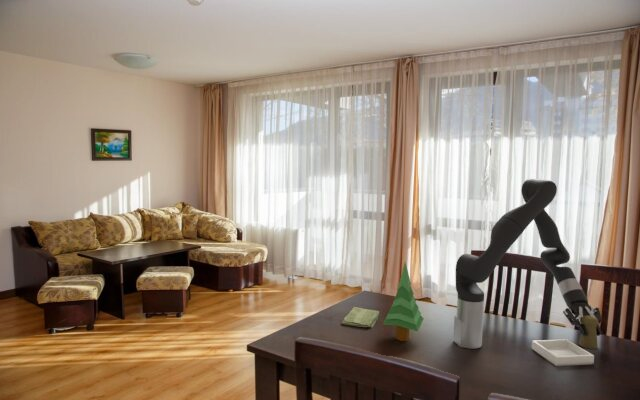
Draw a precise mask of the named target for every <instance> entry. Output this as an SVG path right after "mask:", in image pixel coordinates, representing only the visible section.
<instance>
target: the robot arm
mask: <svg viewBox="0 0 640 400" xmlns="http://www.w3.org/2000/svg"><path fill="white" fill-rule="evenodd" d="M520 190H521V195H522V199H523V200H524V202H525V203H523V204H522V205H519V206H518V207H515V208H514V209H511V210H509V211H507V212H506V213H505V214H503V215H501V217H500V218H499V219H498V220H497V222H496V223H495V224H494V225H493V227H492V229H491V231H490V242H489V244H488V247H487V248H486V250H485V251H484V252H483V253H482V254H481V255H480V256H478V255H474V254H470V253H464V254H461V255H460V256H459V257H458V258H457V261H456V263H455V290H456V292H457V301H456V302H457V304H456V315H455V316H454V321H453V340H452V341H453V342H454V343H455V344H457V346H458V347H460V348H466V349H469V350H470V349H473V350H474V349H475V350H476V349H479V348H481V347H482V346H483V345H482V344H483V329H484V328H483V326H484V325H483V324H484V322H483V321H484V310H485V309H484V308H485V307H484V305H485V292H484V291H483V290H482V289H481V288H480V286H479V285H478V284H481V283H484V282H485V281H487V279H489V277H490V276H491V275H492V273H493V272H494V270H495V268H496V267H497V265H498V264H499V263H500V261H501V259H502V258H503V256H504V255H505V254H506V253H507V251H508V250H509V249H510V248H511V247H512V245H513V244H514V243H515V242H516V241H517V240H518V238H520V237H521V235H522V234H523V232H524V231H525V230H526V229H527V228H528V226H529V225H530V224H531V223H532V222H533V221H534V223H535V225H536V228H537V232H538V235H539V239H540V243H541V245H542V246H543V247H544V248H546V249H545V250H543V251H542V252H541V253H540V255H539V256H540V261H541V262H542V264H543V265H544V266H545V267H546V268H547V269H548V271H549V272H550V273H551V274H552V276H553V277H554V280H555V281H556V284H557V286H558V289H559V292H560V294H561V297H562V298H563V300H564V302H565V304H566V308H565V309H564V310H563V311H562V313H563V315H564V316H565V317H566V319H567V321H568V322H569V323H570V325H572V326H576V327H577V328H578V330H579V332H580V335H581V334H582V335H583V336H587V335H588V332H587V330H586V327H585V325H583V322H582V318H583V316H585V315H589V316H594V317H596V318H597V319H598V325H597V326H596V331H597V337H599V336H601V335H602V334H603V333H602V329H601V327H600V325H599V324H600V323H602V322H603V318H602V314H601V310H600V308H599V307H595V308H594V307H592V306H591V305H590V304H589V301H588V297H587V296H586V294H585V291H584V290H583V287H582V285H581V284H580V283H579V281H578V279H577V277H576V275H575V273H574V272H573V270H572V268H571V267H569V266H559V265H564V264H567V263H568V262H569V261H570V258H571V255H570V252H569V251H568V250H567V248H566V247H565V246H564V244H563V242H562V240H561V237H560V233H559V229H558V226H557V224H556V222H555V221H554V219H553V218H552V217H551V216H550V215H549V213H548V212H547V211H546V209H545V208H547V207H548V206H549V205H550V204H551V203H552V202H553V201H554V199H555V197H556V194H557V190H558V189H557V185H556V183H555V182H554V181H552V180H549V179H540V178H528V179H526V180H525V181H523V182H522V185H521V189H520ZM477 283H478V284H477ZM567 307H568V308H567Z"/></svg>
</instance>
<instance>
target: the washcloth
mask: <svg viewBox="0 0 640 400" xmlns="http://www.w3.org/2000/svg"><path fill="white" fill-rule="evenodd" d="M379 315H380V311H378V310H374V309H370V308H369V309H366V308H363V307H356V306H353V308H352V309H351V310H350V311H349V313H348V314H347V315H346V316H345V317H344V318H343V319H342V321H341V325H344V326H351V327H360V328H361V327H362V328H367V327H369V328H368V329H374V326H375V325H376V322H377V321H378V319H379V317H380V316H379ZM378 316H379V317H378Z"/></svg>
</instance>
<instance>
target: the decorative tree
mask: <svg viewBox="0 0 640 400" xmlns="http://www.w3.org/2000/svg"><path fill="white" fill-rule="evenodd" d="M397 287H398V288H397V291H396V294H395V297H394V299H393V303H392V304H391V307H390V308H389V310H388V314H387V316H386V318H385V319H384V321H383V323H382V325H384V326H385V325H386V326H387V325H388V326H389V325H390V326H396V329H395V330H396V331H395V336H396V337H395V339H396V340H398V341H401V342H407V341H408V340H409V339H410V330H412V331H415V332H419V330H420V328H421V326H422V323H423V321H424V317H423V316H422V315H421V314H422V312H421V311H420V309H419V306H418V304H417V301H416V298H415V297H414V292H413V289H412V283H411V279H410V274H409V271H408V267H407V263H406V261H404V264H403V267H402V271H401V276H400V279H399V283H398V286H397Z"/></svg>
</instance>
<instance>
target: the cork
mask: <svg viewBox="0 0 640 400" xmlns="http://www.w3.org/2000/svg"><path fill="white" fill-rule="evenodd" d="M582 322H583V325H585V327H586V330H587V332H588V335H587V336H583V335H582V334H581V333H580V335H579V336H580V337H579V341H578V346H579V347H580V346H581V348H585V349H590V350H596V349H598V346H599V345H598V336H597V331H596V326H597V325H599V324H598V319H597V318H596V317H594V316H589V315H585V316H583V318H582Z"/></svg>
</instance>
